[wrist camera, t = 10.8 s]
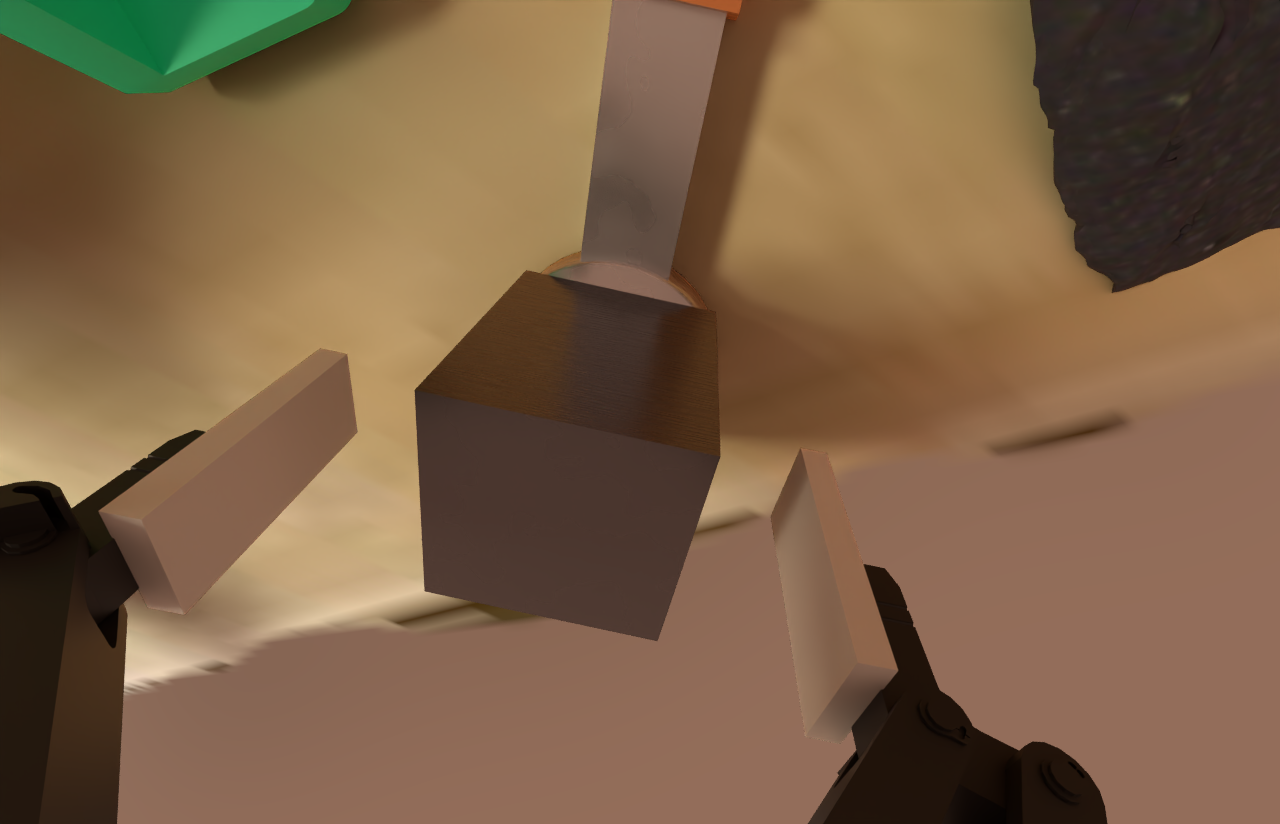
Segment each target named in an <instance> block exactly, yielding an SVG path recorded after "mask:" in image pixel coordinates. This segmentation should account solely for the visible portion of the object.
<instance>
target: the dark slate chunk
mask: <svg viewBox="0 0 1280 824" xmlns="http://www.w3.org/2000/svg"><path fill="white" fill-rule="evenodd" d="M1030 5H1031V13H1032V24H1033V32H1034V38H1035V44H1036V64H1035V71H1034V79H1033V85H1034V86H1036V87H1037V88H1039V96H1040V105H1041V108H1042V110H1043V111H1044V113H1045V114H1046V116H1047V119H1048V128H1051V129H1054V130H1055V131H1054V137H1053V148H1054V183H1055V186H1056V188H1057V189H1058V191H1059V193H1060V196H1061V199H1062V202H1063V203H1064V205H1065V211H1066V213H1067V215H1068V217H1070V218H1071V219H1073V220H1075V221H1076V224H1077V225H1076V228H1075V231H1074V240H1075V249H1076V251H1078V252H1079V253H1080V254H1081V255H1082V256H1083V257H1084V258H1085V259H1086V262H1087V265H1088V267H1090V268H1092V269H1094V270H1096V271H1097V272H1100V273H1102V274H1104V275H1106V276H1107V277H1108V278H1110V279H1111V280H1112V281H1113V282H1114V284H1113V288H1112V293H1113V292H1119V291H1122V290H1126V289H1128V288H1131V287H1134V286H1137V285H1139V284H1142V283H1146V282H1150V281H1153V280H1155V279H1156V278H1158V277H1160V276H1162V275H1164V274H1166V273H1169V272H1173V271H1177V270H1180V269H1183V268H1186V267H1189V266H1191V265H1193V264H1195V263H1198V262H1200V261H1202V260H1204V259H1206V258H1208V257H1210V256H1212V255H1214V254H1215V253H1217V252H1219V251H1221V250H1223V249H1224V248H1226V247H1229V246H1231V245H1233V244H1235V243H1237V242H1239V241H1241V240H1243V239H1245V238H1247V237H1249V236H1251V235H1253V234H1255V233H1258V232H1260V231H1263V230H1267V229H1274V228H1280V0H1030Z"/></svg>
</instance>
